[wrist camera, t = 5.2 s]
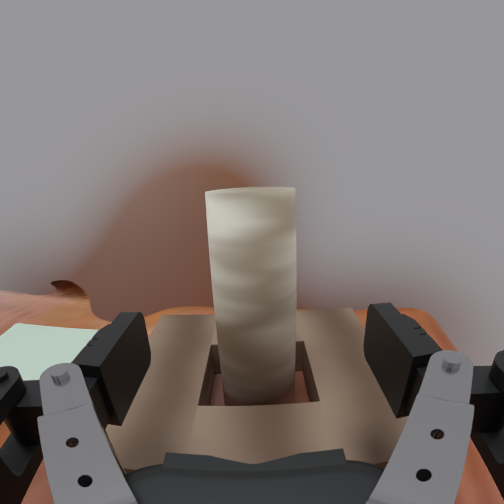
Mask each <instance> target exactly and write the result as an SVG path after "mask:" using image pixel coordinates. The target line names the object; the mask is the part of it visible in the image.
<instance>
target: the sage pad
mask: <svg viewBox="0 0 504 504" xmlns="http://www.w3.org/2000/svg"><path fill="white" fill-rule="evenodd" d="M97 331H98V330H90V329H75V328H62V327H50V326H40V325H30V324H21V323H16V324H15V325H14V326H12V327H11V328H10V329H9V330H7V331H6V332H5V333H4V334H2V335H1V336H0V367H3V366H13V367H16V368H17V369H18V370H19V372H20V375H21V377H22V379H23V380H39V378H40V376H41V374H42V373H43V372H44V371H45V370H46V369H47V368H49V367H51V366H53V365H56V364H60V363H71V362H72V361H73V360H74V359H75V357H76V356H77V355H78V354H79V353H80V351H81V350H82V349H83V348H84V347H85V346H87V345H86V344H87V343H88V342H89V341H90V340H92V337H93V336H94V335H95V334H96V333H97Z"/></svg>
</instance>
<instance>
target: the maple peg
mask: <svg viewBox="0 0 504 504" xmlns="http://www.w3.org/2000/svg"><path fill="white" fill-rule="evenodd" d="M205 197H206V213H207V227H208V240H209V253H210V266H211V276H212V277H211V278H212V289H213V300H214V310H215V321H216V330H217V340H218V349H219V358H220V367H221V375H222V384H223V392H224V400H225V406H258V405H279V404H293V403H294V383H295V351H296V196H295V188H291V187H245V188H230V189H220V190H213V191H208V192H205Z"/></svg>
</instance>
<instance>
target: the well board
mask: <svg viewBox="0 0 504 504" xmlns="http://www.w3.org/2000/svg"><path fill="white" fill-rule="evenodd" d="M364 336H365V328H364V326H363V325H362V323H361V322H360V320H359V319H358V317H357V316H356V314H355V313H354V311H353V310H352V308H340V309H325V310H310V311H296V351H295V370H303V374H304V378H305V382H306V387H307V391H308V395H309V400H310V402H307V403H294V404H279V405H258V406H209V402H210V396H211V391H212V385H213V379H214V373H221V367H220V358H219V349H218V340H217V330H216V321H215V315H162V316H161V318H160V320H159V321H158V323H157V325H156V326H155V328H154V330H153V332H152V334H151V335H150V337H149V339H148V340H149V345H150V349H151V363H150V366H149V368H148V371H147V373H146V375H145V377H144V379H143V381H142V383H141V385H140V387H139V389H138V391H137V394H136V396H135V398H134V400H133V402H132V404H131V406H130V409H129V411H128V413H127V415H126V417H125V419H124V422H123V424H122V426H116V425H110V424H108V425H107V427H106V429H105V430H106V432H107V434H108V437H109V439H110V441H111V443H112V446H113V448H114V450H115V452H116V454H117V456H118V458H119V460H120V462H121V464H122V466H123V468H124V470H125V472H126V474H127V473H129V472H131V471H134V470H136V469H139V468H143V467H147V466H151V465H157V464H163V461H164V458H165V454H166V452H170V453H182V454H197V455H210V456H214V457H219V458H223V459H228V460H233V461H238V462H243V463H248V464H258V463H263V462H267V461H272V460H276V459H280V458H284V457H287V456H291V455H295V454H298V453H306V452H316V451H325V450H333V449H340V448H343V450H344V453H345V457H346V460H355V461H362V462H367V463H371V464H375V465H378V466H381V467H383V468H386V466H387V464H388V462H389V460H390V458H391V456H392V453H393V451H394V449H395V447H396V445H397V443H398V440H399V438H400V436H401V434H402V431H403V429H404V427H405V424H406V422H407V419H408V417H409V416H406V417H402V418H397V419H396V417H395V415H394V413H393V411H392V409H391V407H390V405H389V403H388V401H387V399H386V397H385V396H384V394H383V392H382V390H381V388H380V386H379V384H378V382H377V380H376V378H375V376H374V374H373V372H372V370H371V369H370V367H369V365H368V363H367V361H366V359H365V356H364V349H363V344H364Z"/></svg>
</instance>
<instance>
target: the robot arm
mask: <svg viewBox="0 0 504 504" xmlns="http://www.w3.org/2000/svg"><path fill="white" fill-rule="evenodd" d="M86 345H87V346H85V347H84V348H83V349H82V350H81V351H80V353H79V354H78V355H77V356H76V357H75V359H74V360H73V361H72V362H71V363H60V364H56V365H53V366H51V367H49V368H47V369H46V370H45V371H44V372H43V373H42V374H41V376H40V378H39V380H23V379H22V377H21V375H20V372H19V370H18V369H17V368H16V367H13V366H3V367H0V425H1V423H2V422H3V420H4V422H5V423H6V425H7V427H8V428H9V430H10V432H11V434H10V435H9V437H8V438H7V440H6V441H5V443H4V444H3V446H2V447H1V449H0V504H21V502H22V500H23V498H24V496H25V494H26V492H27V490H28V488H29V485H30V483H31V481H32V479H33V477H34V475H35V473H36V471H37V469H38V467H39V465H40V463H41V462H42V460H43V458H44V462H45V467H46V472H47V476H48V480H49V484H50V488H51V492H52V496H53V499H54V503H55V504H454V502H455V499H456V495H457V492H458V488H459V484H460V481H461V477H462V473H463V469H464V464H465V460H466V455H467V450H468V445H469V440H470V437H471V439H472V441H473V443H474V444H475V446H476V448H477V450H478V452H479V453H480V455H481V457H482V459H483V461H484V462H485V464H486V466H487V468H488V470H489V472H490V474H491V476H492V478H493V480H494V481H495V483H496V485H497V487H498V489H499V491H500V493H501V495H502V497H503V500H504V350H503V351H500V352H498V353H497V354H496V356H495V358H494V361H493V364H492V366H473V363H472V361H471V360H470V359H469V358H468V357H467V356H466V355H464V354H462V353H459V352H456V351H451V350H444V351H443V350H442V349H441V348H440V347H439V346H438V344H437V343H436V342H435V341H434V340H433V339H432V338H431V337H430V336H429V335H427V332H426V331H425V330H424V329H423V328H422V329H421V326H420V325H419V324H418V323H417V322H416V321H415V320H414V319H412V318H410V317H408V316H406V315H404V314H400V312H399V311H398V310H397V309H396V308H395V307H394V306H393V305H392V304H391V303H379V304H370V305H369V307H368V311H367V319H366V328H365V336H364V344H363V349H364V356H365V359H366V361H367V363H368V365H369V367H370V369H371V370H372V372H373V374H374V376H375V378H376V380H377V382H378V384H379V386H380V388H381V390H382V392H383V394H384V396H385V397H386V399H387V401H388V403H389V405H390V407H391V409H392V411H393V413H394V415H395V417H396V419H397V418H402V417H406V416H409V417H408V419H407V422H406V424H405V427H404V429H403V431H402V434H401V436H400V438H399V440H398V443H397V445H396V447H395V449H394V451H393V453H392V456H391V458H390V460H389V462H388V464H387V466H386V468H383V467H381V466H378V465H375V464H371V463H367V462H362V461H355V460H346V457H345V453H344V450H343V448H340V449H333V450H325V451H316V452H306V453H298V454H295V455H291V456H287V457H284V458H280V459H276V460H272V461H267V462H263V463H258V464H248V463H243V462H238V461H233V460H228V459H223V458H219V457H214V456H210V455H197V454H182V453H170V452H166V454H165V458H164V461H163V464H157V465H151V466H147V467H143V468H139V469H136V470H134V471H131V472H129V473H127V474H126V472H125V470H124V468H123V466H122V464H121V462H120V460H119V458H118V456H117V454H116V452H115V450H114V448H113V446H112V443H111V441H110V439H109V437H108V434H107V432H106V430H105V429H106V427H107V425H108V424H110V425H116V426H122V424H123V422H124V419H125V417H126V415H127V413H128V411H129V409H130V406H131V404H132V402H133V400H134V398H135V396H136V394H137V391H138V389H139V387H140V385H141V383H142V381H143V379H144V377H145V375H146V373H147V371H148V368H149V366H150V363H151V349H150V345H149V340H148V335H147V330H146V325H145V320H144V316H143V314H142V313H141V312H121V313H120V314H119V315H118V316H117V317H116V318H115V319H114V321H113V322H112V323H111V324H108V325H107V326H105V327H103V328H102V329H100V330H98V331H97V333H96V334H95V335H94V336H93V337H92V340H90V341H89V342H88V343H87V344H86Z"/></svg>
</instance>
